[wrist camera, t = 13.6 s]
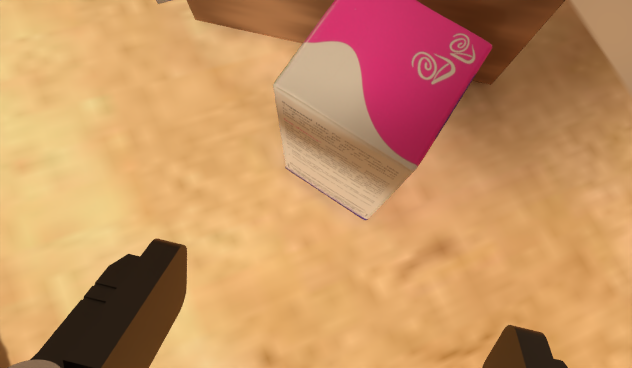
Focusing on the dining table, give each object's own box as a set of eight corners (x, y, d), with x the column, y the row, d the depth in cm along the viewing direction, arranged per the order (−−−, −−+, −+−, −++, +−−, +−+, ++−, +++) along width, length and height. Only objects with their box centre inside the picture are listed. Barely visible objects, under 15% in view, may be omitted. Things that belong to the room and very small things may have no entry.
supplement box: (369, 224, 25) (412, 177, 14) (283, 168, 26) (260, 81, 15) (421, 143, 27) (499, 40, 15) (337, 91, 27) (353, -43, 16)
